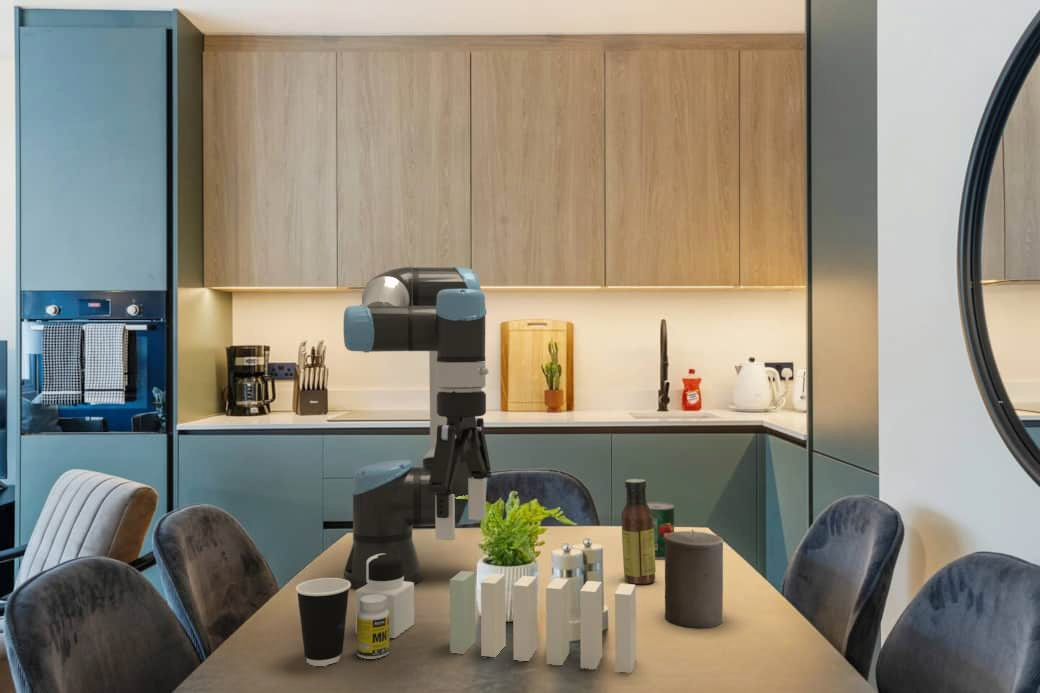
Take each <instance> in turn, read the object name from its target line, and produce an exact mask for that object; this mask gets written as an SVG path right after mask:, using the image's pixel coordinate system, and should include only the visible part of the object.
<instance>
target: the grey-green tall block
mask: <svg viewBox="0 0 1040 693" xmlns="http://www.w3.org/2000/svg"><path fill="white" fill-rule="evenodd" d="M473 643H475V644H476V571H469V570H467V571H466V570H461V571H459V572H458V573H457V574H456V575H454V576H453V577H452V578H450V579H449V652H450V651H451V652H458V653H464V652H466V650H468V649H469V648H470V646H471V645H473ZM473 646H474V645H473ZM470 649H471V648H470ZM470 649H469V650H470ZM469 650H468V651H469ZM466 653H467V652H466Z"/></svg>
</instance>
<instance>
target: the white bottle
mask: <svg viewBox="0 0 1040 693" xmlns="http://www.w3.org/2000/svg"><path fill="white" fill-rule="evenodd" d="M366 582H367V583H368V584H367V585H365V586H363V587H361V588H359V589H355V597H354V598H355V599H354V600H355V634H356V635H357V614H358V612H359V611H360V610H361V609H360V598H361V597H363V596H367V595H374V594H377V595H384V596H386V597H387V607H386V609H387V610H388V611H389V639H390V638H395V639H396V638H398V637H399V636H400V635H402V634H403V633H404V632H406V631H407V630H409V629H410V628H412V625H413V626H414V625H415V584H414V583H413V582H406V581H404V559H403V558H402V557H401V556H399V555H397V554H391V553H384V554H377V555H374V556H372V557H370V558H368V560H367V561H366ZM405 630H406V631H405ZM401 633H402V634H401Z"/></svg>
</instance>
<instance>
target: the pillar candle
mask: <svg viewBox="0 0 1040 693" xmlns="http://www.w3.org/2000/svg"><path fill="white" fill-rule="evenodd" d="M723 562H724V539H723V537H721V536H718V535H715V534H713V533H708V532H704V531H694V529H691V530H690V531H687V530H685V531H674V532H672V533H669V534H667V535H666V536H665V559H664V619H666V620H667V621H668V622H670V623H671V624H673V625H676V626H679V627H680V626H681V627H685V628H695V629H706V628H713V627H717V626H719V625H721V624H722V623H723V615H724V614H723V611H724V610H723V609H724V608H723V607H724V606H723V603H724V602H723V598H724V597H723V596H724V588H723V587H724V574H723V573H724V572H723V571H724V563H723Z"/></svg>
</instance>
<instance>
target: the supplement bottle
mask: <svg viewBox="0 0 1040 693" xmlns="http://www.w3.org/2000/svg"><path fill="white" fill-rule="evenodd" d="M386 607H387V597H386V596H384V595H377V594H374V595H367V596H363V597H361V598H360V609H361V610H360V611H359V612H358V614H357V634H356V654H357V656H359V657H361V658H360V659H362V658H364V659H363V660H366V659H372V658H379V657H382V656H385V655H386V656H388V655H389V653H390V638H389V611H388V610H387V609H386ZM387 654H388V655H387ZM386 656H385V657H386ZM359 657H358V658H359ZM365 658H366V659H365Z"/></svg>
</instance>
